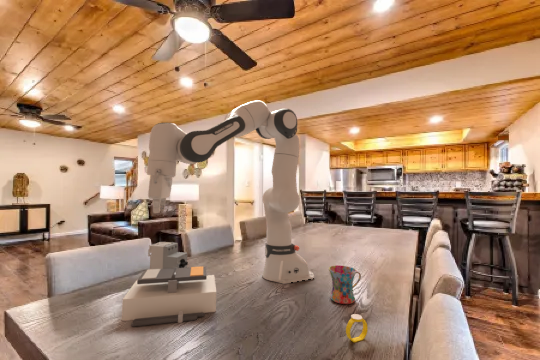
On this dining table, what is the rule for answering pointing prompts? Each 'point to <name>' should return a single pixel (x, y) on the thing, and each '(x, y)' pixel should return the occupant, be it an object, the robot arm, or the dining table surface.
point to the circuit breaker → (166, 256)
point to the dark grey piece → (167, 319)
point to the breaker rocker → (172, 275)
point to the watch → (353, 319)
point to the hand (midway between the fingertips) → (159, 211)
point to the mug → (343, 284)
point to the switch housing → (169, 298)
